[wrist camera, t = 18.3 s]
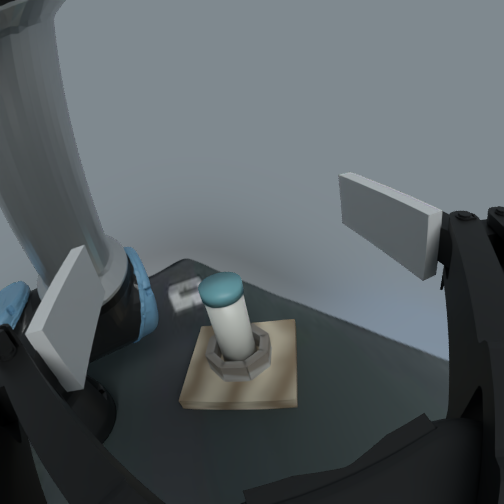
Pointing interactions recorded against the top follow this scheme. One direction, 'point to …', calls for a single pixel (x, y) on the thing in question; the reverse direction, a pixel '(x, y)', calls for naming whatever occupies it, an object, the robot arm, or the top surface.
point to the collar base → (244, 372)
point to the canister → (228, 315)
